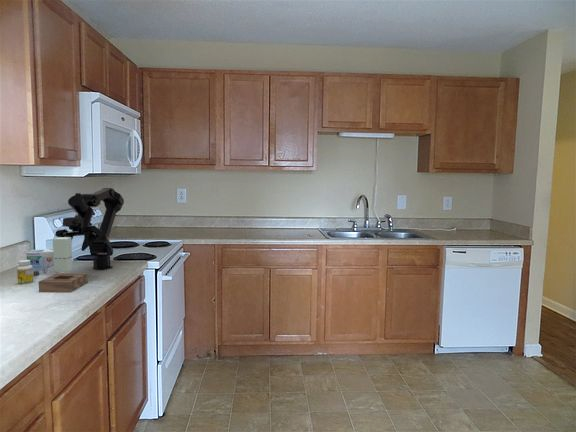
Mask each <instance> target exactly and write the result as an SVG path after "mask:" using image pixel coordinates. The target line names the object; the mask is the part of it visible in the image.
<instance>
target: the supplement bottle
mask: <svg viewBox="0 0 576 432" xmlns="http://www.w3.org/2000/svg"><path fill="white" fill-rule="evenodd" d="M16 273H17V274H16V276H17V285H30V284H32V283H34V276H33V267H32V265H30V260H27V259H21V260H18V266H17V267H16Z"/></svg>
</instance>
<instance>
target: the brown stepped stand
mask: <svg viewBox="0 0 576 432" xmlns="http://www.w3.org/2000/svg"><path fill="white" fill-rule="evenodd" d="M88 282H89V281H88V272H85V273H84V272H81V273H79V272H77V273H76V272H58V273H56V274H51V275H49V276H47V277H46V278H43V279H41V280H39V281H38V292H39V293H73V292H74V291H76V290H78V289H80V288H81V287H83V286H84V285H87V284H88Z"/></svg>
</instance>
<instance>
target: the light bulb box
mask: <svg viewBox="0 0 576 432" xmlns="http://www.w3.org/2000/svg"><path fill="white" fill-rule="evenodd" d="M26 260H30V265H32V267H33V277H38V276H40V275H41V276H44V275H46V276H47V275H54V274H56V273H59V271H54V257H53V248H50V249H45V248H44V249H30V250H29V251H27V252H26Z"/></svg>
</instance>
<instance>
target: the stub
mask: <svg viewBox="0 0 576 432" xmlns="http://www.w3.org/2000/svg"><path fill="white" fill-rule="evenodd" d="M71 241H72V240H71V237H55V238H52V249H53V257H54V271H58V272H68V271H70V270H72V269H73V268H74V267H73V251H72V250H73V247H72V246H73V245H72V244H73V243H72V242H71Z"/></svg>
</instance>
